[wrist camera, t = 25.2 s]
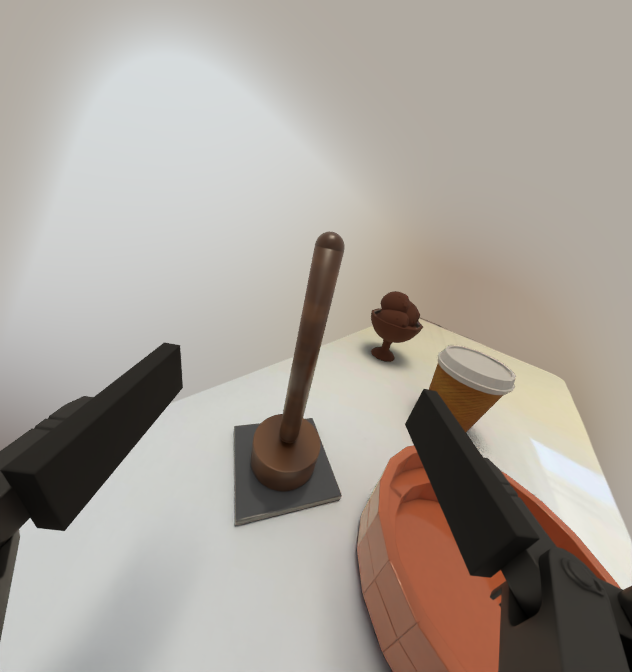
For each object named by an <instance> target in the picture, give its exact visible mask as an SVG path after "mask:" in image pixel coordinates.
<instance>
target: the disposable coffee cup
mask: <svg viewBox="0 0 632 672" xmlns="http://www.w3.org/2000/svg"><path fill="white" fill-rule="evenodd" d="M515 377H516V376H515V374H514V372H513V371H512V370H511V369H510V368H508V367H507V366H506V365H504V364H503V363H501V362H500V361H498V360H496V359H494V358H493V357H491V356H489V355H486V354H484V353H482V352H479V351H477V350H474V349H471V348H467V347H463V346H458V345H449V346H447V347H446V348H445V349H444V350H443V351H441V352H439V354H438V364H437V367H436V370H435V373H434V376H433V379H432V382H431V384H430V387H429V390H433V391H437V392H438V394H439V395H440V397H441V398H442V400H443V401H444V402H445V404H446V405H447V407H448V408H449V410H450V411H451V412H452V414H453V415H454V417H455V418H456V419H457V421H458V422H459V424H460V425H461V427H462V428H463V429H464V431H465V432H467V431H468V430H469V429H470V428H471V427H472V426H473V425H474V424H475V423H476V422H477V421H478V420H479V419H480V418H481V417H482V416H483V415H484V414H485V413H486V412H487V411H488V410H489V409H490V408H491V407H492V406H493V405H494V404H495V403H496V402H497V401H498V400H499V399H500V398H501V397H502V396H503V395H505V394H507V393H508V392H511V391H513V390H514V388H515V386H514V381H515Z"/></svg>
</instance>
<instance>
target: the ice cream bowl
mask: <svg viewBox="0 0 632 672" xmlns="http://www.w3.org/2000/svg"><path fill="white" fill-rule="evenodd" d="M381 307H382V309H375V310H372V313H371V320H372V324H373V327H374V329H375V331H376V333H377V334H378V335H379V336H380V337H381V338H383V341H384V342H383V344H382V347H375V348H373V349H372V350H371V353H372V355H373V356H375V357H376V358H377V359H380V360H383V361H389V362H391V361H393V360H394V355H393V353H392V352H391V351H390V350H389V348H390V345H391V344H392V343H393V342H394V343H400V342H405V341H407V340H410V339H411V338H413V337H414V336H416V335H417V334H418V333H419V332H420V331H421V329H422V328H423V326H422V325H421V324H420V323H419V322H418V319H419V317H420V314H419V312H418V309H417V308H416V306H415V305H414V304H413V303H412V302H410V301H409V299H408V296H407V295H405V294H403V293H401V292H396V291H395V292H390V293H388V294H387V295H385V296H384V297H383V299H382V300H381Z"/></svg>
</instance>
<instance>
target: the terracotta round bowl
mask: <svg viewBox="0 0 632 672" xmlns="http://www.w3.org/2000/svg"><path fill="white" fill-rule="evenodd" d="M501 472H502V471H501ZM502 473H503V475H504V476H505V477H506V479H507V480H508V481H509V483H510V486H512V487H513V488H514V490H515V491H516V492H517V494H518V497H520V498H521V499H522V500H523V502H524V503H525V504H526V506H527V507H528V509H529V510H530V511H531V513H532V514H533V515H534V517H535V518H536V519H537V521H538V522H539V524H540V525H541V526H542V528H543V529H544V530H545V532H546V533H547V534H548V536H549V537H550V538H551V540H552V541H553V542H554V544H555V545H556V546H557V547H559V548H563V549H565V550H567V551H568V552H570V553H572V554H573V555H575V556H576V557H577V558H578V559H580V560H581V561H582V562H583V563H584V564H585V565H586V566H587V567H588V568H589V569H590V570H591V571H592V572H593V573H594V574H595V575H596V577H597V578H599V579H601V580H603V581H606V582H608V583H610V584H612V585H614V586H616V587H618V588H620V587H619V585H618V584H617V582H615V580H614V579H613V578H612V577H611V575H610V574H609V573H608V572H607V571H606V569H605V568H604V567H603V566H602V565H601V563H600V562H599V561H598V560H597V559H596V557H595V556H594V555H593V554H592V553H591V551H590V550H589V549H588V548H587V547H586V545H585V544H584V543H583V542H582V541H581V539H580V538H579V537H578V536H577V535H576V534H575V533H574V532H573V531H572V530H571V529H570V528H569V527H568V526H567V525H566V524H565V523H564V522H563V521H562V520H561V519H560V518H559V517H558V516H556V515H555V514H554V513H553V512H552V511H551V510H550V509H549V508H548V507H547V506H546V505H545V504H544V503H543V502H542V501H540V500H539V499H538V498H537V497H536V496H534V495H533V494H532V493H530V492H529V491H528V490H526V489H525V488H524V487H523V486H521V485H520V484H519V483H517V482H516V481H515V480H513V479H512V478H511V477H509V476H508V475H507V474H505V473H504V472H502ZM357 554H358V562H359V570H360V578H361V586H362V593H363V597H364V600H365V603H366V606H367V609H368V612H369V615H370V618H371V621H372V624H373V627H374V630H375V633H376V636H377V639H378V642H379V645H380V648H381V651H382V652H383V655H384V657H385V659H386V661H387V662H388V664H389V666H390V668H391V670H392V671H393V672H498V667H499V643H500V619H501V607H500V606H499V603H501V595H500V596H499V597H497V598H496V599H494V600H492V599H491V598H490V594H491V592H492V591H493V590H494V589H495V588H497V587H498V586H500V585H501V584H502V583H504V582H505V581H506V579H505V577H504V575H503V573H502V571H501V570H500V571H499V572H497V573H496V574H495V575H493V576H492V577H491V578H488V577H479V576H470V574H469V572H468V569H467V567H466V565H465V562H464V560H463V558H462V555H461V553H460V551H459V548H458V546H457V544H456V541H455V539H454V537H453V534H452V532H451V530H450V527H449V525H448V523H447V520H446V518H445V516H444V513H443V511H442V509H441V506H440V504H439V502H438V500H437V497H436V495H435V493H434V490H433V488H432V486H431V483H430V481H429V479H428V476H427V474H426V472H425V469H424V467H423V465H422V462H421V460H420V458H419V455H418V453H417V451H416V448H415V446H408V447H406V448H404V449H403V450H401V451H400V452H399V453H397V454H396V455H395V456H393V457H392V458H391V459H390V460H389V462H388V464H387V466H386V468H385V469H384V471H383V473H382V475H381V477H380V479H379V481H378V483H377V485H376V486H375V488H374V490H373V492H372V494H371V496H370V498H369V500H368V502H367V504H366V506H365V508H364V510H363V512H362V514H361V519H360V527H359V536H358V544H357ZM620 589H621V588H620Z"/></svg>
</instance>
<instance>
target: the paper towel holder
mask: <svg viewBox="0 0 632 672" xmlns="http://www.w3.org/2000/svg"><path fill="white" fill-rule="evenodd" d="M343 253H344V242H343V240H342V238H341V237H340V236H339V235H338V234H337V233H334V232H326V233H323V234H322V235H320V236H319V237H318V239H317V241H316V243H315V248H314V253H313V259H312V264H311V269H310V274H309V280H308V285H307V291H306V296H305V301H304V306H303V311H302V317H301V322H300V327H299V332H298V337H297V342H296V348H295V353H294V358H293V363H292V369H291V374H290V379H289V384H288V389H287V395H286V400H285V405H284V410H283V414H278V415H274V416H272V417H269V418H267V419H266V420H264V421H263V422H262V423H261V424H260V425H259V426H258V428H257V429H256V431H255V433H254V437H253V444H252V452H251V467H252V471H253V473H254V475H255V476H256V478H257V479H258V480H259V481H260V482H261V483H262V484H263V485H264V486H266V487H268V488H270V489H273V490H276V491H291V490H294V489H297V488H299V487H301V486H302V485H304V484H305V483H306V482H307V481H308V480H309V479H310V477H311V475H312V473H313V471H314V468H315V465H316V462H317V459H318V455H319V452H320V447H321V443H320V438H319V435H318V432H317V431H316V429H315V428H314V427H313V425H312V424H311V423H309V422H308V421H307V420H305V419H304V418H303V416H304V412H305V408H306V404H307V399H308V395H309V391H310V387H311V383H312V379H313V375H314V371H315V367H316V363H317V359H318V355H319V351H320V347H321V342H322V338H323V334H324V330H325V326H326V322H327V318H328V314H329V310H330V306H331V302H332V298H333V293H334V289H335V285H336V281H337V277H338V273H339V269H340V265H341V261H342V257H343Z"/></svg>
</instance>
